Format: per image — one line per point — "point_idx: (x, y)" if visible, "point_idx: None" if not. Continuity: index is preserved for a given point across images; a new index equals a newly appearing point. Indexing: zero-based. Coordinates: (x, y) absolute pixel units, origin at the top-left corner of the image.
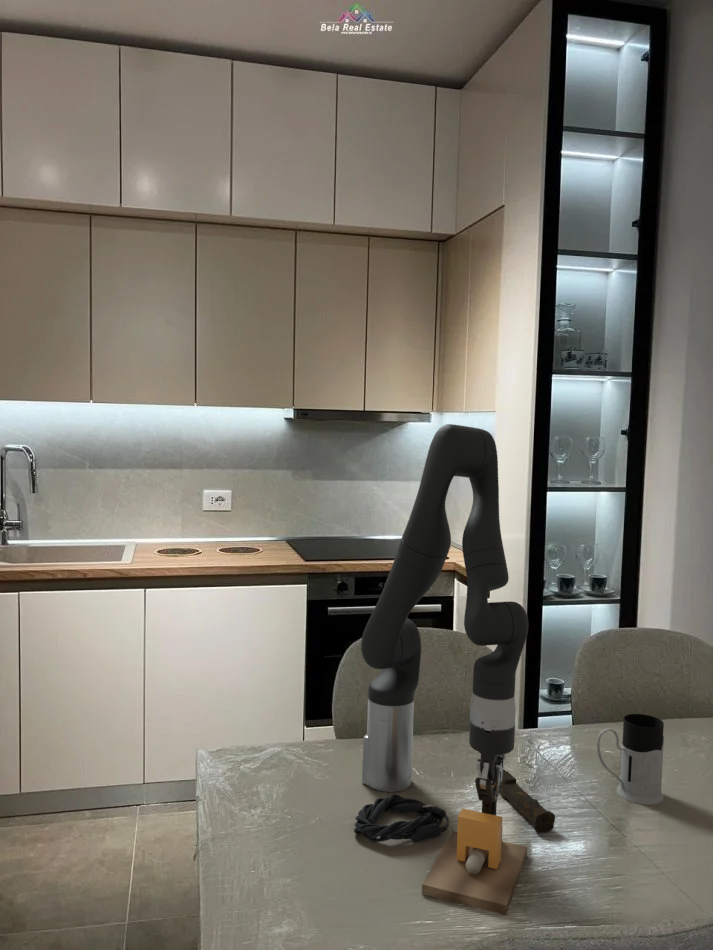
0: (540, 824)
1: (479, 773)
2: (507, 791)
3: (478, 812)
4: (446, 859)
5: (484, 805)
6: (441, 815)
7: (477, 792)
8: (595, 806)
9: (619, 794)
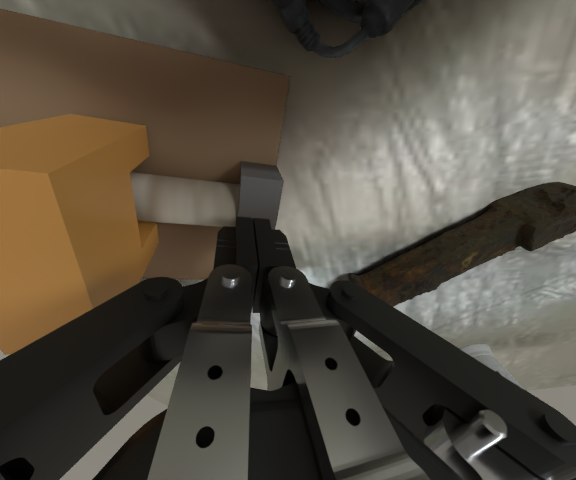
0: None
1: (156, 464)
2: (496, 224)
3: (68, 266)
4: (60, 69)
5: (214, 264)
6: (365, 12)
7: (18, 352)
8: (437, 330)
9: (464, 348)
